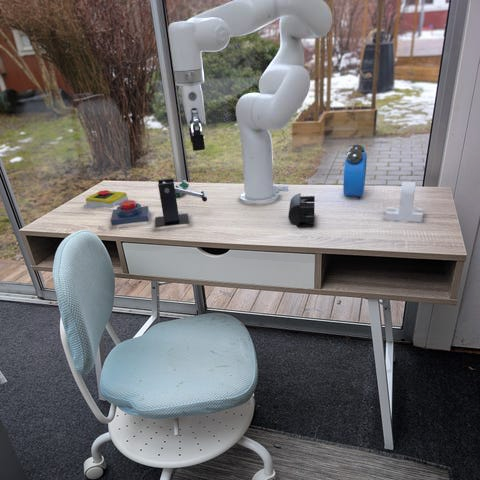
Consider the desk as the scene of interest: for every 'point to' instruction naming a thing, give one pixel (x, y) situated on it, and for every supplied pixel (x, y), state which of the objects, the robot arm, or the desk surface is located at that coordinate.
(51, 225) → the desk surface
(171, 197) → the bracket
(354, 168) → the alarm clock
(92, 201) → the emergency button
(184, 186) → the gaming controller
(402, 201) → the cable organizer
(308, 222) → the end cap
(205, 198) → the lever
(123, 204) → the button
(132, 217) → the button box
